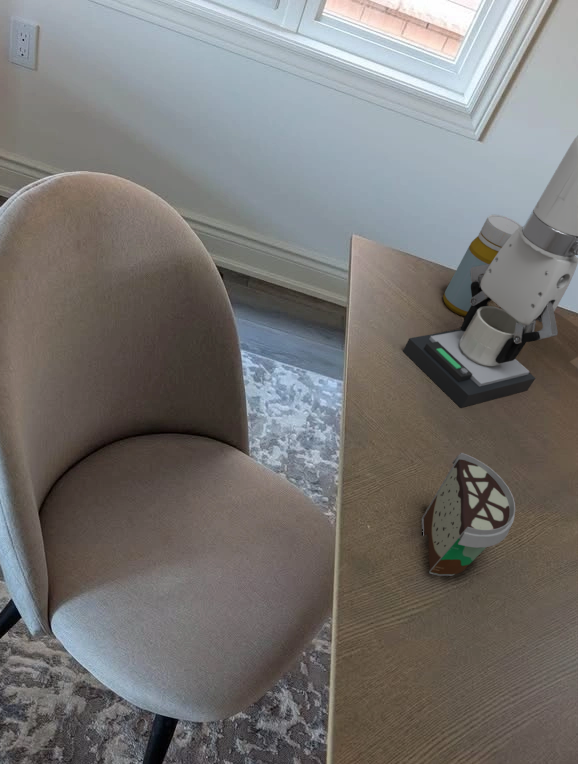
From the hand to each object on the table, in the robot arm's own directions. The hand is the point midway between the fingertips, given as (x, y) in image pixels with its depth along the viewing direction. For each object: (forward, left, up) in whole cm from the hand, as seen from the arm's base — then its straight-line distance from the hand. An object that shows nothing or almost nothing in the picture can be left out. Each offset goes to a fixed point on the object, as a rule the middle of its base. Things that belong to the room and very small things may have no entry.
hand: (485, 344), depth 110 cm
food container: (+30, +26, -5) cm, 40 cm away
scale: (+1, 0, -5) cm, 5 cm away
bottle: (-12, -14, -5) cm, 19 cm away
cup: (0, 0, -2) cm, 2 cm away
